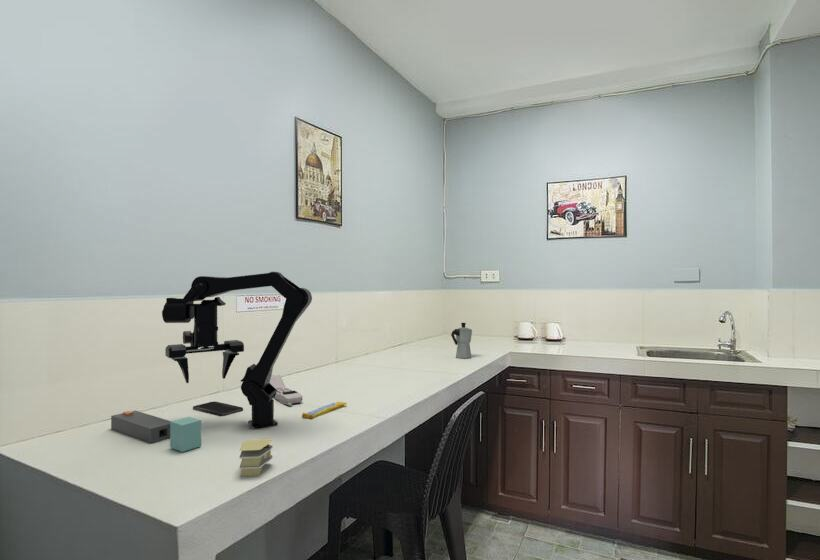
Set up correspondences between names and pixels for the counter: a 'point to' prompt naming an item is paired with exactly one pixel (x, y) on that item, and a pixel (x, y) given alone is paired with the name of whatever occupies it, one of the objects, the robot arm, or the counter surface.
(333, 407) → the candy bar
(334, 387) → the counter surface
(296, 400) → the mobile phone
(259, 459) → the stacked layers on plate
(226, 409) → the phone
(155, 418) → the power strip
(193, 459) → the counter surface
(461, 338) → the coffee maker
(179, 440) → the block
